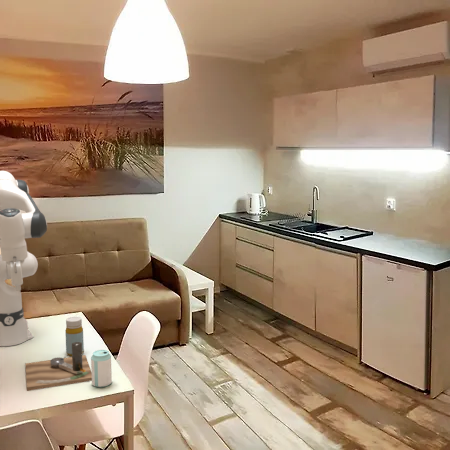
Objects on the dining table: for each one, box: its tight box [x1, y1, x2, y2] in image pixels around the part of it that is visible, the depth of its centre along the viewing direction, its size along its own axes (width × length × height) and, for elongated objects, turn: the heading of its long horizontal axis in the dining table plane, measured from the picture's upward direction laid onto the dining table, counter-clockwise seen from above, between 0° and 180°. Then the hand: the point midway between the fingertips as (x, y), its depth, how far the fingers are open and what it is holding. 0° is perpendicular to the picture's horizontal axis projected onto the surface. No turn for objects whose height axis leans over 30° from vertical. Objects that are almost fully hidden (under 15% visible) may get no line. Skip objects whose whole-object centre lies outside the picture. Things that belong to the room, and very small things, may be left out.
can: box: [90, 349, 113, 388], centre depth 189 cm, size 7×7×12 cm
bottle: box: [65, 316, 85, 357], centre depth 215 cm, size 7×7×15 cm
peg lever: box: [50, 342, 86, 374], centre depth 197 cm, size 18×5×12 cm, turn 55°
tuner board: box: [24, 354, 92, 392], centre depth 198 cm, size 22×23×1 cm
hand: (18, 289), depth 192 cm, fingers closed
